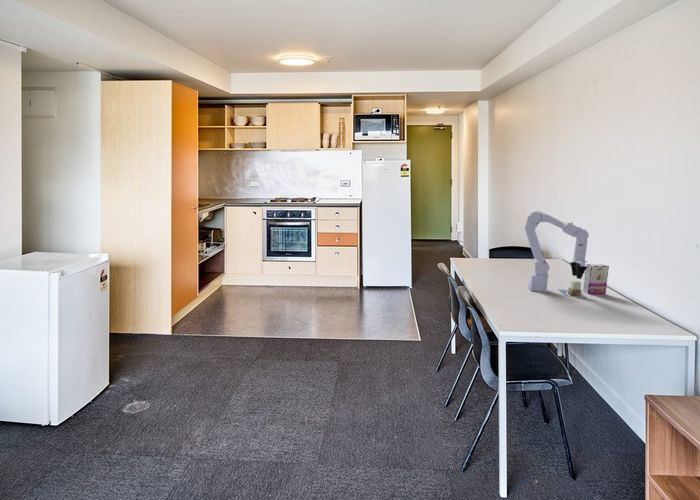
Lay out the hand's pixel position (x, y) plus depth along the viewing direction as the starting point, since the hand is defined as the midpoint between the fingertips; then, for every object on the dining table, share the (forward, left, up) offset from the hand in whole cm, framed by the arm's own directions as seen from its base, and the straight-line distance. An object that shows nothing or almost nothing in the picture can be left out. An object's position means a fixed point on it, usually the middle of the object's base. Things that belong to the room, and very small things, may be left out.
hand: (576, 277), depth 271 cm
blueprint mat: (0, +4, -10) cm, 11 cm away
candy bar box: (+14, +10, -11) cm, 20 cm away
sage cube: (0, 0, -6) cm, 6 cm away
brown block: (0, 0, -10) cm, 10 cm away
